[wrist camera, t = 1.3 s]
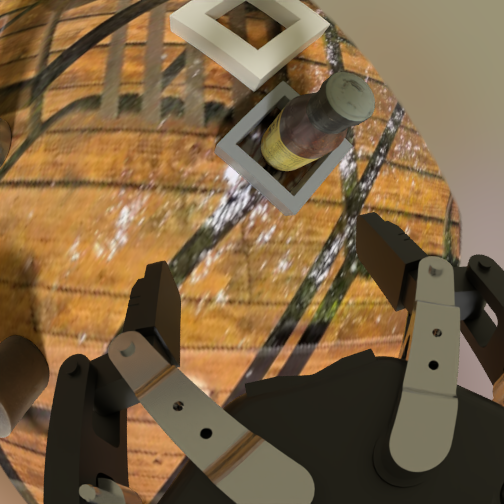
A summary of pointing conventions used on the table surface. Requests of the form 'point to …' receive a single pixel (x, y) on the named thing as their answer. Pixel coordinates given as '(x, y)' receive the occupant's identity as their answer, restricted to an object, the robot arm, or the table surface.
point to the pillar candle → (19, 380)
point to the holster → (259, 176)
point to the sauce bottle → (316, 122)
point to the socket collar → (238, 50)
